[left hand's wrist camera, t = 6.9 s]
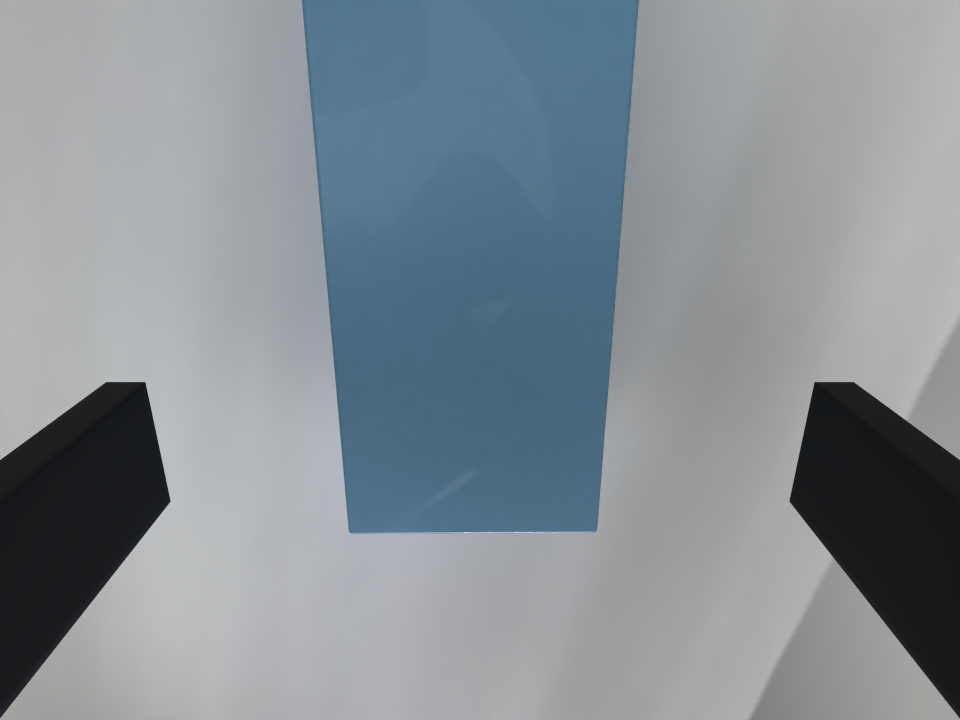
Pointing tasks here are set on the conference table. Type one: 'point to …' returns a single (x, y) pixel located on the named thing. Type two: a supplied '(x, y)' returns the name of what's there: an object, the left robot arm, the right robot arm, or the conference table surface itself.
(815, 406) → the left robot arm
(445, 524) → the blue box
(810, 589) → the conference table surface
